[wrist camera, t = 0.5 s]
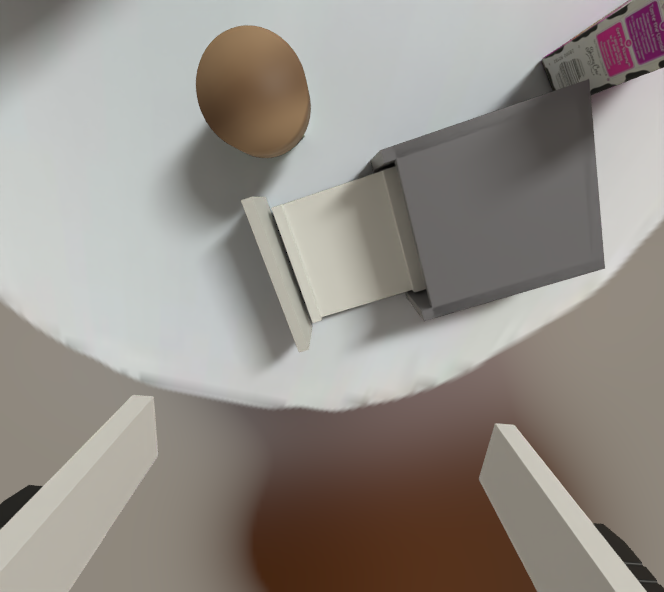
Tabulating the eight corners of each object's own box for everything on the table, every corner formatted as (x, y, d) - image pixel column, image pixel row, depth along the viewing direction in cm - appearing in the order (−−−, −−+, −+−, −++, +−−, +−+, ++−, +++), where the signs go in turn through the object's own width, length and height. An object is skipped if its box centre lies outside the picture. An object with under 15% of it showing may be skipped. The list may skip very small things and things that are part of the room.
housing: (533, 104, 31) (589, 78, 24) (552, 254, 35) (604, 268, 28) (370, 160, 32) (380, 150, 26) (407, 298, 36) (424, 321, 30)
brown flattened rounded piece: (199, 70, 27) (177, 49, 23) (291, 35, 26) (284, 7, 22) (237, 170, 29) (222, 166, 25) (323, 140, 28) (321, 131, 24)
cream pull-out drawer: (405, 149, 32) (421, 138, 26) (438, 288, 36) (458, 305, 30) (256, 200, 33) (240, 200, 28) (304, 328, 37) (299, 352, 32)
